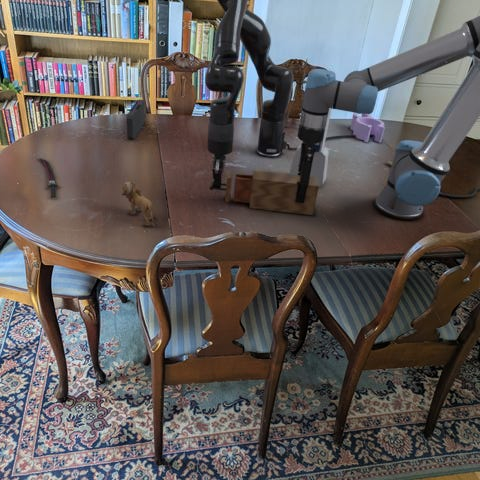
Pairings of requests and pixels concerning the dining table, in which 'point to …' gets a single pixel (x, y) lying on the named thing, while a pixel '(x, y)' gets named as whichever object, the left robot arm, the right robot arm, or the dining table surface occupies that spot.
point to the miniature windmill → (296, 68)
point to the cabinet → (281, 193)
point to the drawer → (237, 187)
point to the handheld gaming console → (135, 119)
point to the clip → (367, 127)
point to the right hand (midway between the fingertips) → (299, 197)
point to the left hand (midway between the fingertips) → (217, 188)
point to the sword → (52, 181)
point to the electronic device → (315, 159)
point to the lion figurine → (137, 201)
